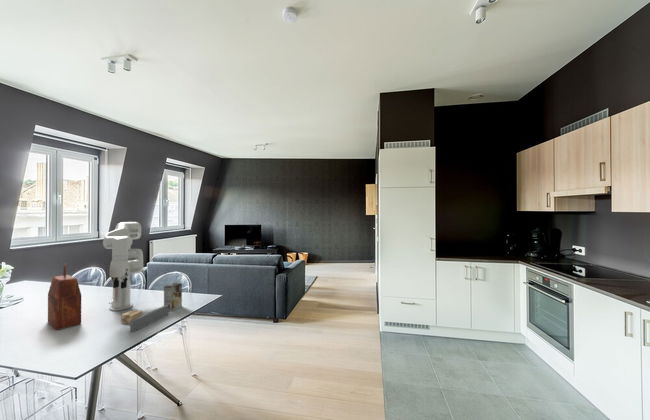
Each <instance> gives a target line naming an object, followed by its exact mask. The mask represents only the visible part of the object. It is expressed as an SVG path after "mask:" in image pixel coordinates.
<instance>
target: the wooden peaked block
mask: <svg viewBox="0 0 650 420" xmlns="http://www.w3.org/2000/svg"><path fill="white" fill-rule="evenodd" d="M66 269H67V267H66V263H63V273H62V274H63V275H57V276H56V275H55V276H53V277H52V279H51V282H50V286H49V290H48V292H47V323H48V324H49V325H50V326H51V327H52V328H53V329H54V330H55V331H59V330H62V329H65V328H70V327H72V326H73V327H74V326H77V325H81V324H82V293H81V289H80V285H79V283H78V278H76V277H74V276H71V275H69V274H67V270H66Z"/></svg>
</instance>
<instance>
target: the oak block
mask: <svg viewBox="0 0 650 420" xmlns="http://www.w3.org/2000/svg"><path fill="white" fill-rule="evenodd" d="M142 315H143V311H142V310H136V309H132V310H129V311H127V312H124V313H122V314H121V321H120V323H121V324H129V325H130V321H131V320H133V319H135V318H138V317H140V316H142Z"/></svg>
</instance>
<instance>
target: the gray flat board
mask: <svg viewBox="0 0 650 420" xmlns="http://www.w3.org/2000/svg"><path fill="white" fill-rule="evenodd" d="M168 315H169V311H168V305H164V304H163V305H162V306H161V307H158V308H155V309H153V310H151V311H148V312H147V313H144V314H142V316H140V317H138V318H135V319H133V320H131V321H130V324H129V328H130V329H129V332H130V333H134V332H136V331H139V330H140V329H142V328H145V327H146V326H148V325H150V324H152V323H154V322H157V321H158V320H160V319H162V318H164V317H166V316H168Z"/></svg>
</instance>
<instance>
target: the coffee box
mask: <svg viewBox="0 0 650 420" xmlns="http://www.w3.org/2000/svg"><path fill="white" fill-rule="evenodd" d="M182 286H183V284H182V283H181V282H180V283H179V282H174V283H170V284H166V285H164V286H163V306H164V305H168V312H173V311H174V310H177V309H179V308H181V307H182V306H183V301H182V300H183V299H182V298H183V297H182V296H183V294H182V293H183V292H182V289H183V287H182Z"/></svg>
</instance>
